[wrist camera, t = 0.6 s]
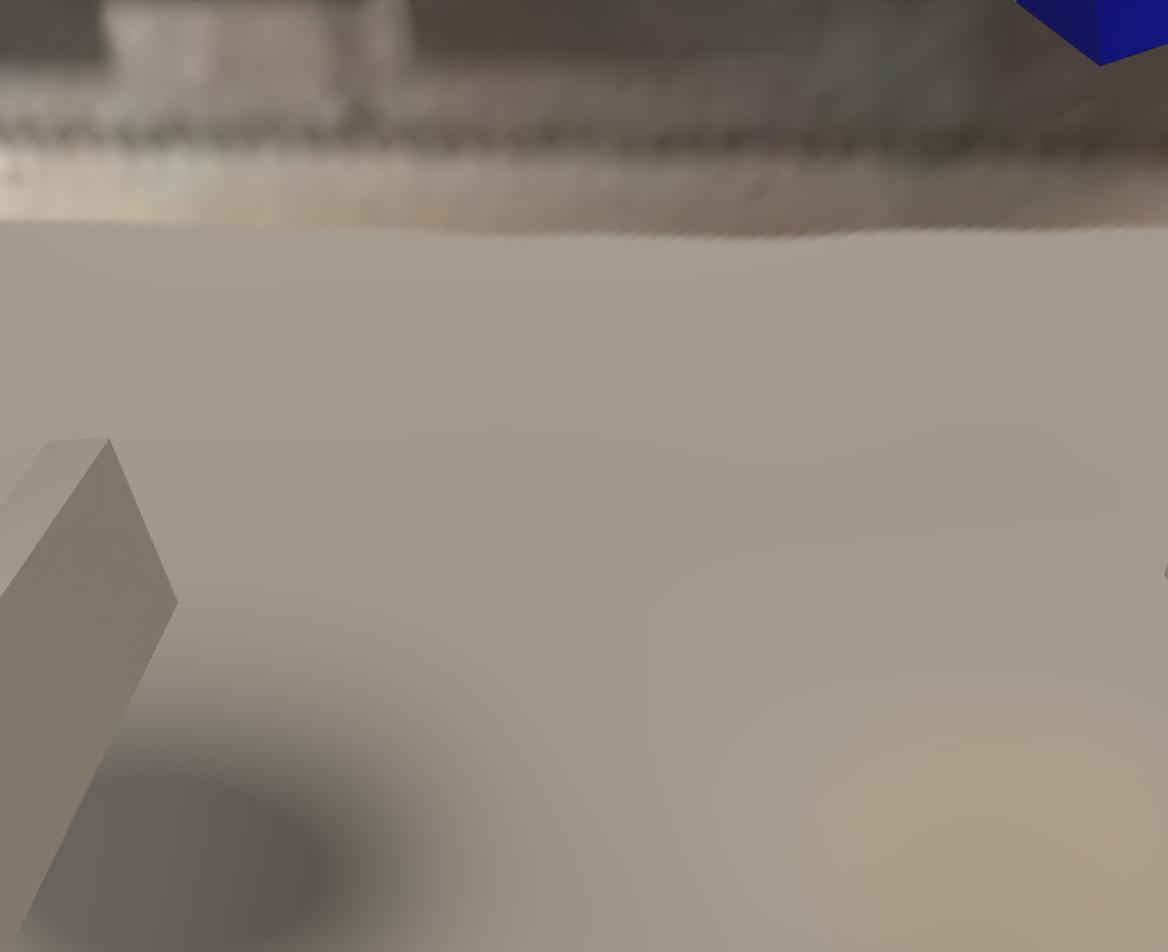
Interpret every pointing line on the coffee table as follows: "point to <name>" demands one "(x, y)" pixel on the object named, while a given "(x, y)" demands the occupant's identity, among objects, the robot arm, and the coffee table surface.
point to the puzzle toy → (1105, 25)
